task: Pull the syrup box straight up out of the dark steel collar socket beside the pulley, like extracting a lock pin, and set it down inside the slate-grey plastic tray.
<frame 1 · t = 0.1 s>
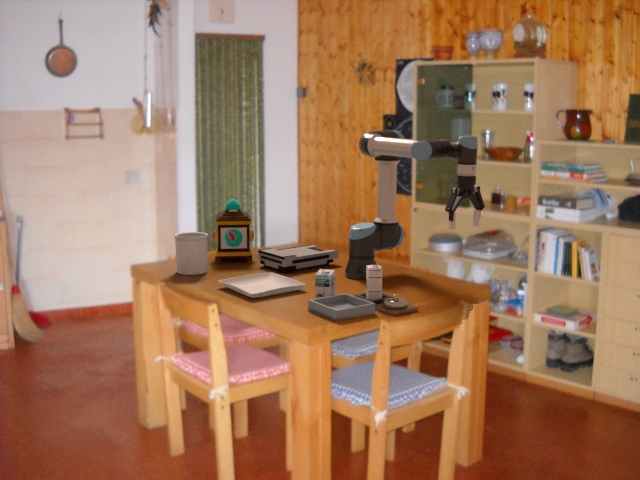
hand: (464, 227, 312), 28 cm above the table, fingers open, 13 cm apart
decorative lantern: (233, 259, 381), on the table
utensil holder: (192, 272, 354), on the table
square plate: (261, 290, 324), on the table
syrup box: (373, 302, 305), resting in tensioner
light bulb box: (325, 298, 311), on the table
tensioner: (373, 302, 305), on the table
game console: (298, 266, 369), on the table
tray: (341, 311, 291), on the table
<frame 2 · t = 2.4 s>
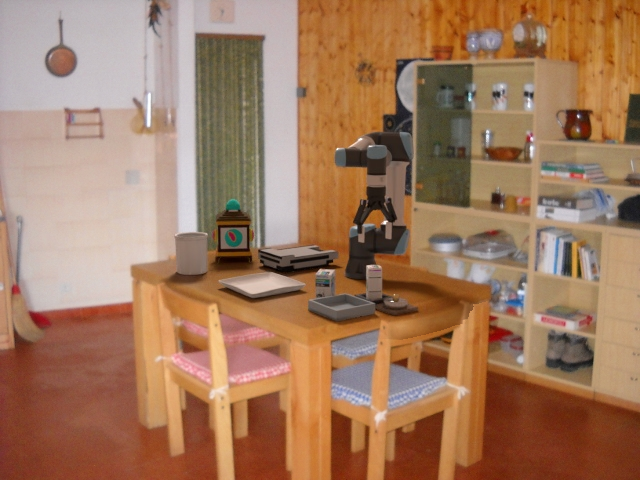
hand: (375, 240, 300), 25 cm above the table, fingers open, 13 cm apart
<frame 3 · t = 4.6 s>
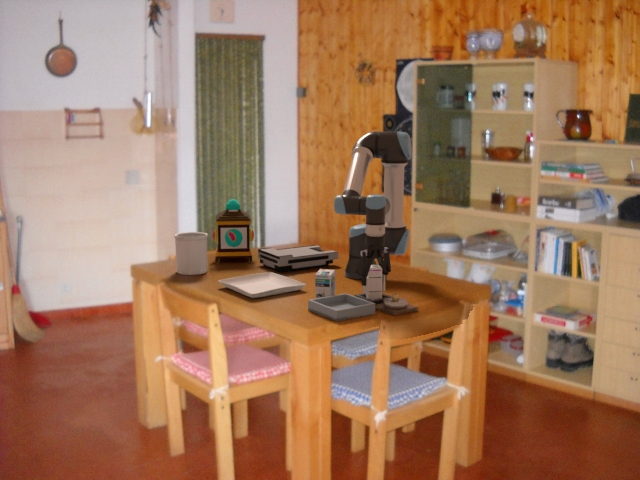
hand: (373, 291, 304), 4 cm above the table, fingers closed on syrup box, 8 cm apart
syrup box: (373, 302, 305), resting in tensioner, touching gripper
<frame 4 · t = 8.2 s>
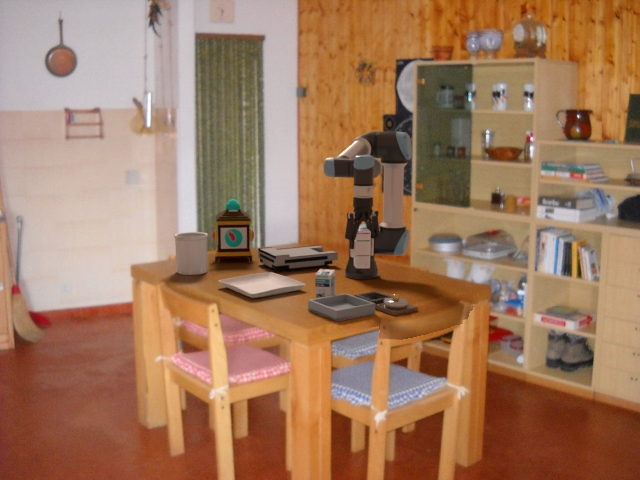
hand: (361, 256, 295), 20 cm above the table, fingers closed on syrup box, 8 cm apart
syrup box: (361, 267, 296), point 15 cm above the table, touching gripper
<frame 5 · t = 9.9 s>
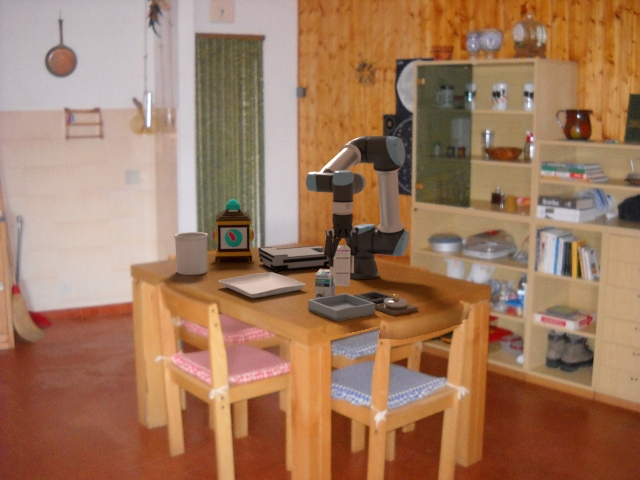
hand: (341, 273, 288), 15 cm above the table, fingers closed on syrup box, 8 cm apart
syrup box: (341, 285, 289), point 10 cm above the table, touching gripper
when the fingers open (7 cm above the table, at t = 11.7 s): syrup box drops 1 cm, resting on tray.
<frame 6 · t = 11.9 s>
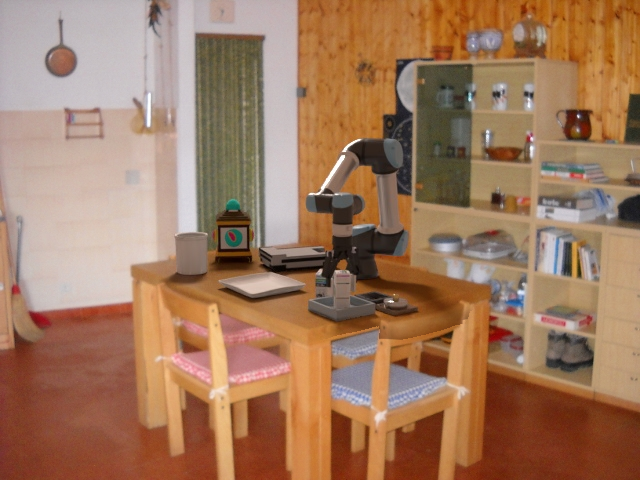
hand: (341, 293, 290), 7 cm above the table, fingers open, 10 cm apart
syrup box: (341, 309, 291), point 1 cm above the table, touching tray
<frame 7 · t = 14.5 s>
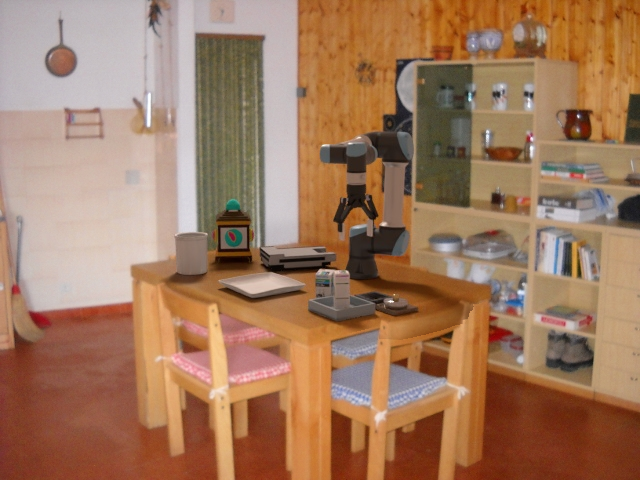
hand: (356, 238, 298), 26 cm above the table, fingers open, 13 cm apart
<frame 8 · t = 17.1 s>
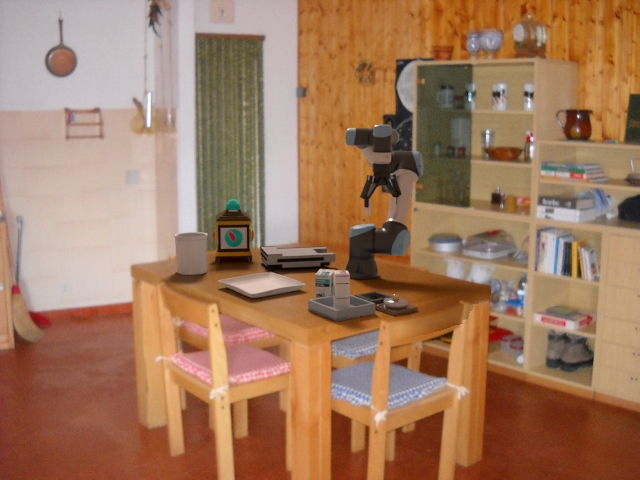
hand: (380, 214, 321), 32 cm above the table, fingers open, 13 cm apart
at the end: syrup box inside the target area on the tray (0.0 cm from its centre), point 0.8 cm above the tray's base; syrup box tilted 0°; the gripper is holding nothing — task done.
